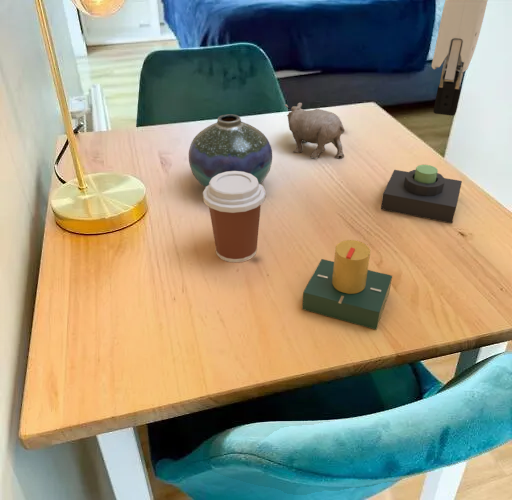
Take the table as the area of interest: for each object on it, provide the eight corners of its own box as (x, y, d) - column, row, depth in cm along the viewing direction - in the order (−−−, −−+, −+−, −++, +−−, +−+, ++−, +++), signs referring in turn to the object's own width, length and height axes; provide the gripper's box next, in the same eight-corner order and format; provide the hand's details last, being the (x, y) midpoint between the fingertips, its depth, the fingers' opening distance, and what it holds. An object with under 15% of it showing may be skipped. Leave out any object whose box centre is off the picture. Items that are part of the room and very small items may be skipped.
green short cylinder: (436, 177, 89) (439, 166, 87) (434, 186, 86) (436, 175, 85) (415, 173, 90) (417, 163, 89) (412, 182, 87) (414, 171, 86)
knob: (337, 270, 70) (341, 235, 66) (369, 277, 68) (374, 242, 65) (327, 288, 66) (331, 252, 63) (360, 297, 65) (365, 261, 61)
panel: (389, 291, 70) (393, 273, 69) (376, 331, 64) (379, 312, 62) (320, 274, 74) (322, 256, 72) (301, 310, 67) (302, 292, 66)
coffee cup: (265, 267, 75) (265, 197, 68) (204, 267, 75) (198, 197, 68) (265, 234, 83) (265, 167, 76) (209, 234, 83) (204, 167, 76)
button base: (458, 196, 92) (464, 171, 89) (452, 223, 85) (458, 197, 82) (391, 184, 96) (395, 160, 93) (380, 209, 89) (384, 184, 86)
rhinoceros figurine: (330, 159, 99) (307, 86, 99) (289, 177, 111) (268, 111, 110) (357, 152, 104) (335, 82, 103) (315, 170, 115) (295, 106, 114)
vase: (268, 166, 103) (269, 102, 95) (275, 204, 91) (276, 133, 83) (193, 169, 102) (187, 104, 95) (189, 207, 90) (182, 136, 82)
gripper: (449, -30, 74) (426, 95, 84) (434, -16, 63) (411, 126, 73) (504, -28, 71) (474, 101, 82) (500, -14, 60) (465, 133, 71)
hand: (444, 112), depth 77 cm, fingers closed
